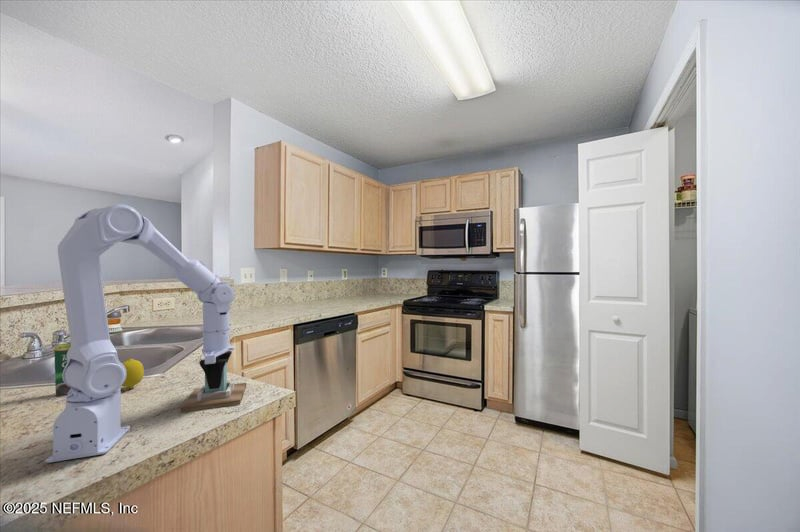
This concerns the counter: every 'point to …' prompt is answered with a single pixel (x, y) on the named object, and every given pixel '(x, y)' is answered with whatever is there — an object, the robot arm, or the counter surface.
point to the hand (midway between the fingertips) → (216, 385)
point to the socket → (214, 397)
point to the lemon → (133, 373)
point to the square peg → (222, 386)
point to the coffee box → (61, 367)
